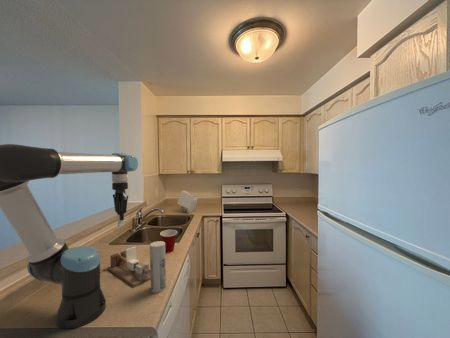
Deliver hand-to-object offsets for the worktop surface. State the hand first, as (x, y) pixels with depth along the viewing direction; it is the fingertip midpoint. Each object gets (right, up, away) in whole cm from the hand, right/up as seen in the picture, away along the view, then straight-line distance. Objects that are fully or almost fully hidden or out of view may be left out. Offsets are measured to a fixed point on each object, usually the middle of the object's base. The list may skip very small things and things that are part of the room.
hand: (120, 225), depth 112 cm
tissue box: (+13, -21, +135) cm, 137 cm away
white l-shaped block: (+10, -19, -7) cm, 23 cm away
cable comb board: (+8, -23, -6) cm, 25 cm away
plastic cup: (+20, -22, +22) cm, 37 cm away
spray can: (+27, -23, -20) cm, 40 cm away
